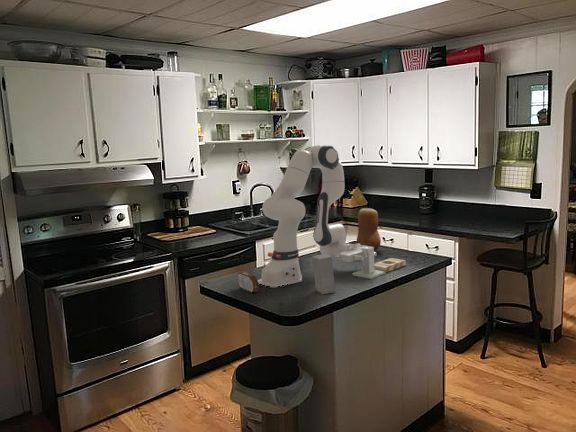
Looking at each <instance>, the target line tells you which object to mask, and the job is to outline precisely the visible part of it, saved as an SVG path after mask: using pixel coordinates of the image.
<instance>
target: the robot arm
mask: <svg viewBox="0 0 576 432" xmlns="http://www.w3.org/2000/svg"><path fill="white" fill-rule="evenodd" d="M312 169H320V171H321V174H322V177H321V178H322V179H321V180H322V181H321V182H322V184H321V185H322V186H321V192H320V194H319V195H318V198H317V203H316V204H317V205H316V216H315V224H314V230H313V234H312V235H313V240H314V242H315V243H316V244H317V245H318V246H319V251H320V253H321V254H327V255H329V256H331V257H332V260H339V262H344V263H351V262H354V261H355V262H356V261H362V260H364V256H362V248H364V247H370V246H365V245H360V244H358V243H357V242H356V243H346V242H347V229H346V228H345V226H344V225H343V224H342V223H339V222H338V223H332V224H328V222H329V214H330V213H329V210H330V208H331V206H332V204H333V203H335V202H336V201H337V200H339V199H340V198H341V197H342V196H343V195H344V194H345V188H346V187H345V185H346V184H345V173H344V167H343V164H342V162H341V161H340V159H339V153H338V150H337V148H336V147H334V146H333V145H330V144H329V145H328V144H324V145H317V144H316V145H313V146H308V147H306V148H304V149H298V150H296V151H295V152H294V153H293V155H292V156H291V159H290V161H289V163H288V164H287V166H286V170H285V172H284V174H283V177H282V179H281V182H280V183H279V185H278V186H277V188H276V189H275V190H274V192H273V193H272V195H270V196H269V197H268V198H267V199H265V200H264V201H263V203H262V208H261V210H262V213H263V215H264V216H265V217H267V218H269V219H271V220H274V221H278V224H277V225H278V226H277V229H276V231H275V232H274V233H273V236H272V238H273V252H267V256H268V257H269V258H271V259H270V260H269V262H268V263H267V264H266V265H265V267H263V269H261V276H260V277H261V278H260V279H257V281H258V283H259V284H262V285H265V286H264V287H266V286H270V287H269V288H279V287H278V286H280V287H283V286H282V285H284V286H288V285H292V284H296V283H297V284H298V283H300V282H303V274H302V271H301V269H300V268H301V266H300V264H299V263H300V262H299V254H300V252H299V249H298V227H299V225H300V223H301V221H302V220H303V219H304V217H305V215H306V206H305V204H304V202H302V201H300V200H298V199H295V198H296V197H298V195H300V194H301V193H302V192H303V191H304V189H305V186H306V183H307V181H308V178H309V176H310V173H311V170H312ZM321 254H320V255H321ZM374 257H377V252H376V251H374ZM287 284H288V285H287ZM262 285H261V286H262Z"/></svg>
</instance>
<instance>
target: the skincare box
mask: <svg viewBox="0 0 576 432" xmlns="http://www.w3.org/2000/svg"><path fill="white" fill-rule="evenodd" d="M311 258H312V268H313V277H314V286H315V291H317V292H318V293H319V294H320V295H326V294H332V293H336V286H335V285H336V284H335V275H334V274H335V273H334V269H333V268H334V267H333V259H332V257H331V256H329V255H327V254H315V255H312V256H311Z"/></svg>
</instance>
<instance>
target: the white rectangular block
mask: <svg viewBox="0 0 576 432" xmlns="http://www.w3.org/2000/svg"><path fill="white" fill-rule="evenodd" d="M374 252H375V251H374V248H373V247H364V248H362V256H364V260H361V265H362V266H361V267H362V270H363V273H367V274H371V273H374V272H375V268H374V263H375V256H374Z"/></svg>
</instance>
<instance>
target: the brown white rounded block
mask: <svg viewBox="0 0 576 432" xmlns="http://www.w3.org/2000/svg"><path fill="white" fill-rule="evenodd" d="M257 280H258V279H257V277H256V275H255V274H253V273H251V272H248V271H246V270H243V271H240V272H238V273H237V284H238V286H239V287H242V288H244V289H247V290H249V291H251V292H255V293H258V291H259V288H260V285H259V284H258V281H257Z"/></svg>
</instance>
